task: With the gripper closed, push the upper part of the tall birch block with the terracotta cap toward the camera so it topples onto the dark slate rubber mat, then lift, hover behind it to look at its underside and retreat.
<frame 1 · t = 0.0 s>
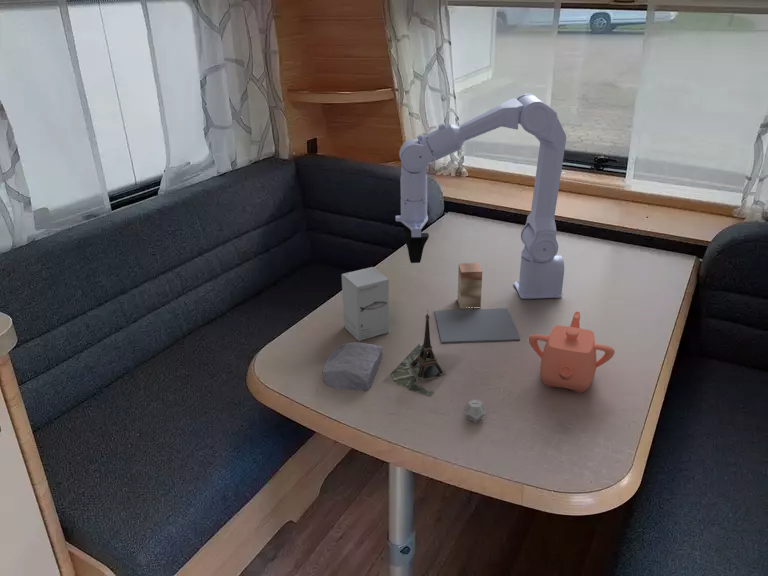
hand: (414, 255, 141), 10 cm above the table, tool pointing down, fingers open, 7 cm apart
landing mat: (475, 325, 132), on the table
supplement box: (366, 330, 132), on the table
eiffel tower figurine: (425, 371, 119), on the table
stone block: (351, 373, 118), on the table
tall block: (468, 303, 141), on the table
game die: (474, 418, 105), on the table
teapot: (566, 379, 115), on the table
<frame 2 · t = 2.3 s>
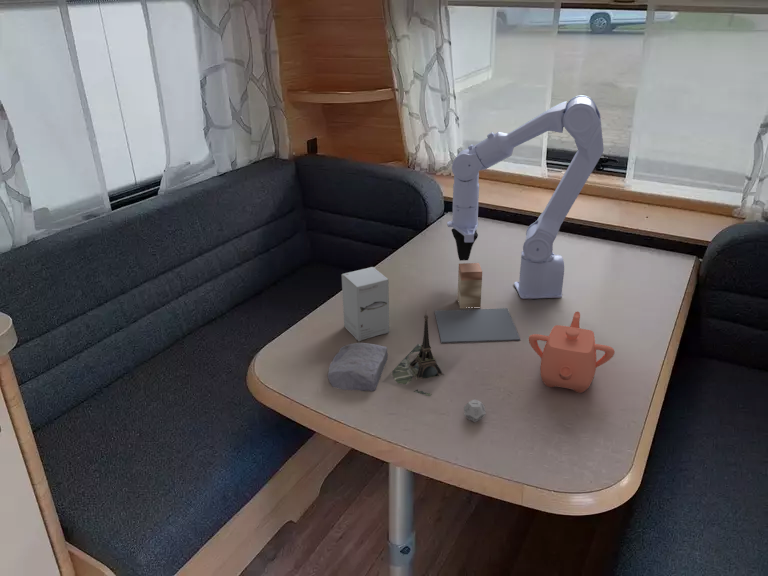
hand: (463, 259, 147), 6 cm above the table, tool pointing down, fingers closed
stone block: (357, 373, 118), on the table
everything else where it was.
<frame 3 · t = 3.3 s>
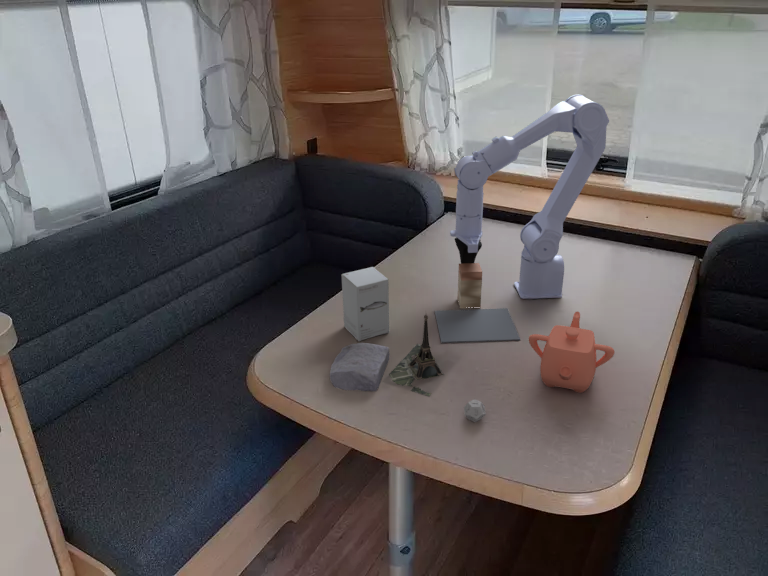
hand: (466, 269, 142), 6 cm above the table, tool pointing down, fingers closed
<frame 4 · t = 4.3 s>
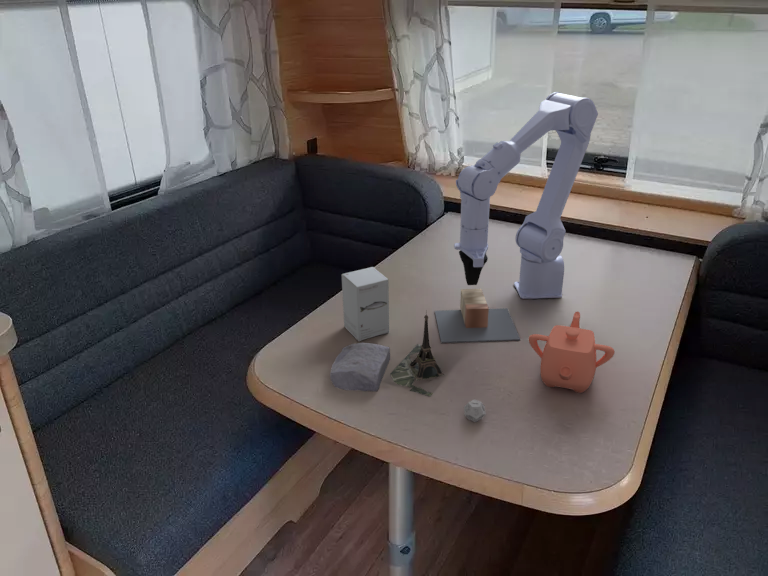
hand: (471, 283, 135), 6 cm above the table, tool pointing down, fingers closed
tall block: (470, 298, 138), point 3 cm above the table, tilted 90°, touching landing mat
everything else where it was.
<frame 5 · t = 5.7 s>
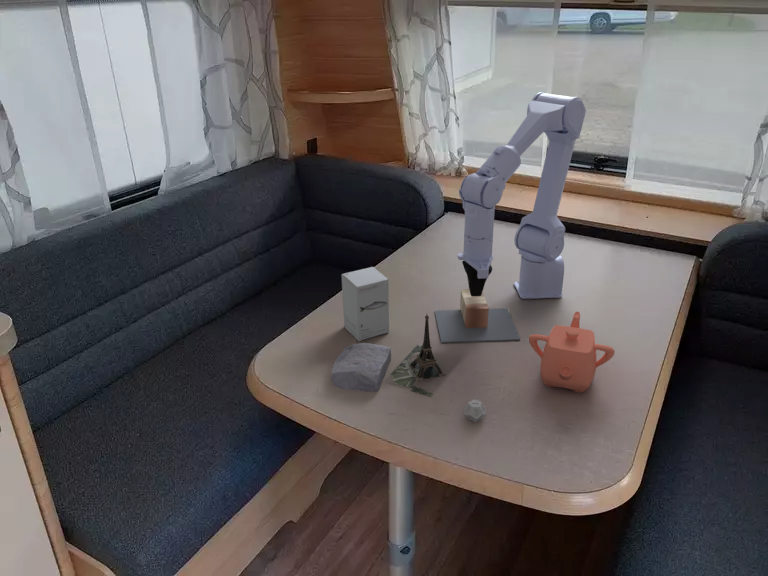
hand: (475, 294, 131), 6 cm above the table, tool pointing down, fingers closed
nothing on the table moved.
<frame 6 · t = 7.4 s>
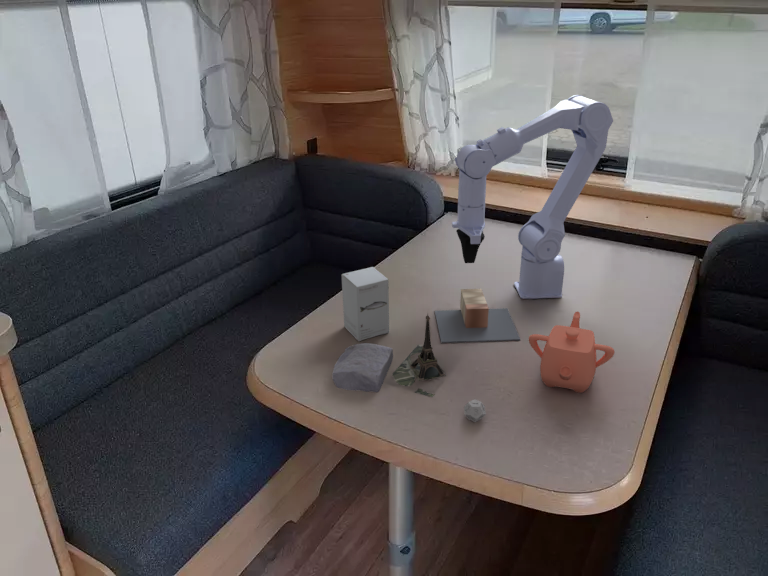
hand: (469, 261, 138), 9 cm above the table, tool pointing down, fingers closed
nothing on the table moved.
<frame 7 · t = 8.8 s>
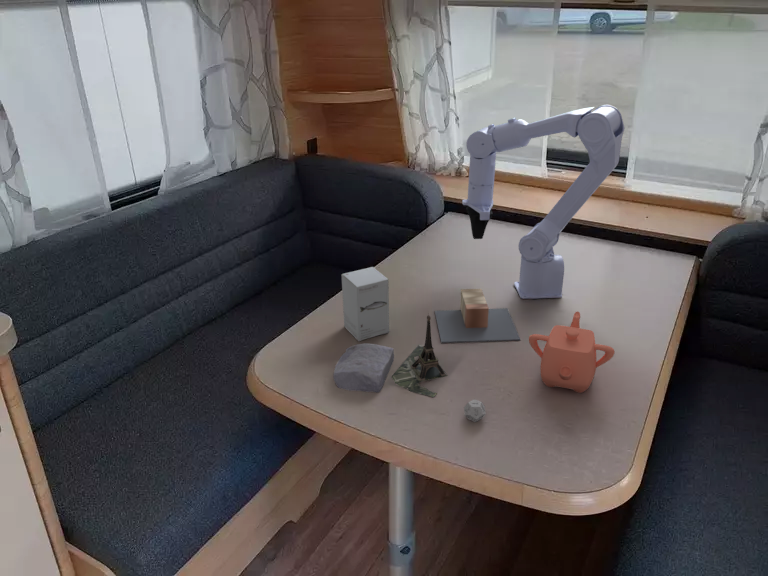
hand: (477, 237, 148), 10 cm above the table, tool pointing down, fingers closed
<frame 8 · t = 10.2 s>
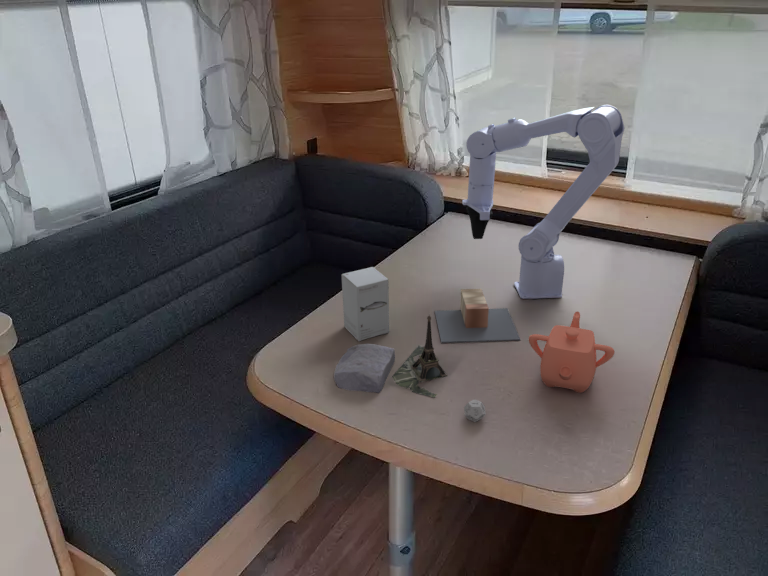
hand: (477, 237, 148), 10 cm above the table, tool pointing down, fingers closed
at the end: tall block tilted 90°; tall block touching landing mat; tall block inside the target area (1.8 cm from its centre), point 2.5 cm above the table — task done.
